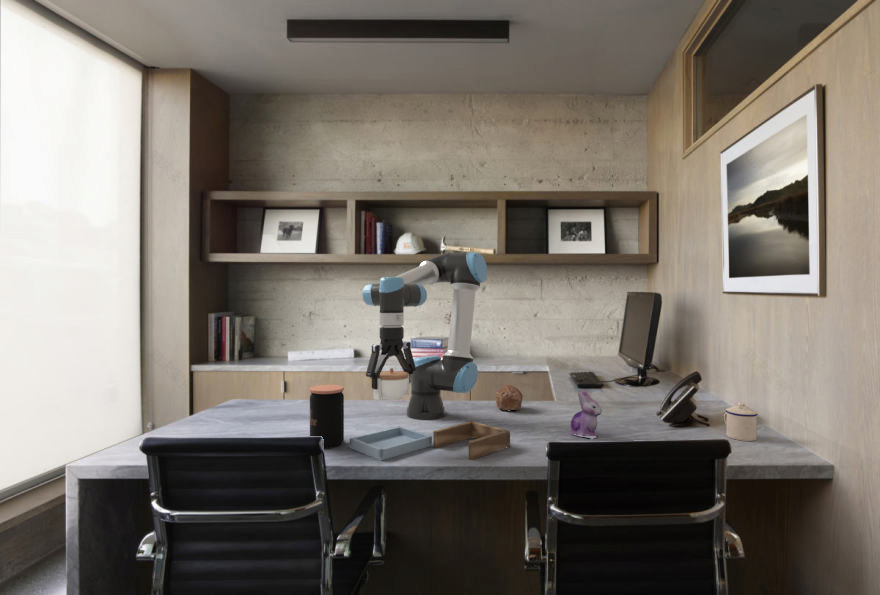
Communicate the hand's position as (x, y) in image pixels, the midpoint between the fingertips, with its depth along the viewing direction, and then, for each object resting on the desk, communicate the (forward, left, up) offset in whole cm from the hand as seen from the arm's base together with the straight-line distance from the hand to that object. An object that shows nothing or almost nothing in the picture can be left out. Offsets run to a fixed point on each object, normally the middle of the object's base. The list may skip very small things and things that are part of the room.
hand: (391, 396), depth 156 cm
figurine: (+35, +56, -16) cm, 68 cm away
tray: (0, 0, -16) cm, 16 cm away
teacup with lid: (+71, +92, -16) cm, 117 cm away
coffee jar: (-17, -13, -16) cm, 27 cm away
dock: (+17, +18, -16) cm, 30 cm away
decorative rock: (-6, +66, -16) cm, 68 cm away
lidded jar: (0, 0, -1) cm, 1 cm away
